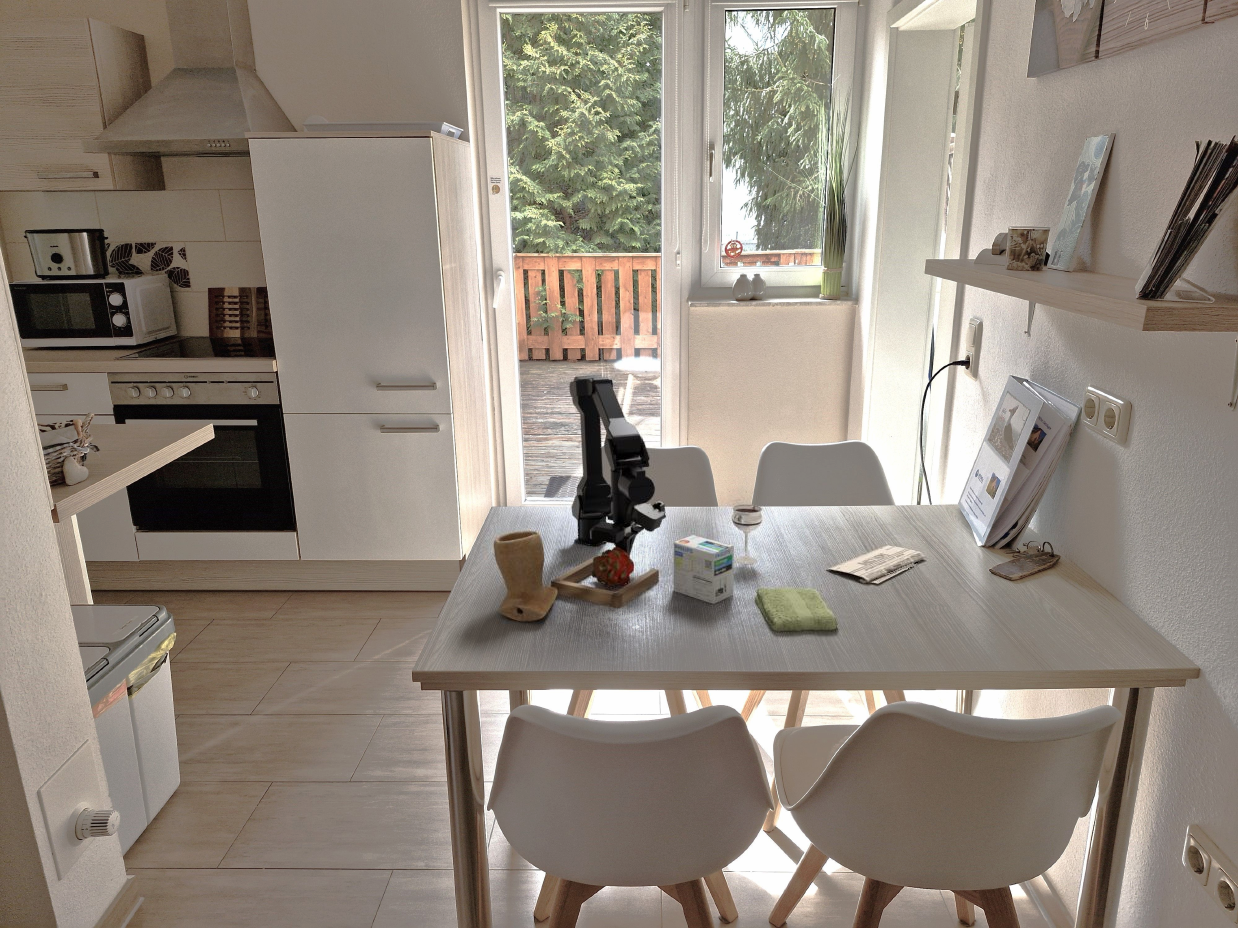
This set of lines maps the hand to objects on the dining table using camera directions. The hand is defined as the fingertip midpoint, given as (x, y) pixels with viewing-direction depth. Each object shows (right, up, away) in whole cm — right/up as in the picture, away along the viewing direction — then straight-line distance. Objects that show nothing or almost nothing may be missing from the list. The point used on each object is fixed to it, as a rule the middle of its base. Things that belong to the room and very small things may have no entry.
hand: (625, 560), depth 188 cm
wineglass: (+27, -1, +8) cm, 28 cm away
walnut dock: (-4, -5, -5) cm, 8 cm away
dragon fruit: (-3, -4, -4) cm, 7 cm away
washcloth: (+32, -8, -20) cm, 39 cm away
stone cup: (-20, -8, -16) cm, 27 cm away
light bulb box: (+16, -6, -10) cm, 19 cm away
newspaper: (+56, -2, +4) cm, 56 cm away
